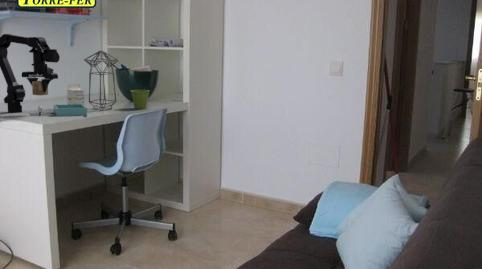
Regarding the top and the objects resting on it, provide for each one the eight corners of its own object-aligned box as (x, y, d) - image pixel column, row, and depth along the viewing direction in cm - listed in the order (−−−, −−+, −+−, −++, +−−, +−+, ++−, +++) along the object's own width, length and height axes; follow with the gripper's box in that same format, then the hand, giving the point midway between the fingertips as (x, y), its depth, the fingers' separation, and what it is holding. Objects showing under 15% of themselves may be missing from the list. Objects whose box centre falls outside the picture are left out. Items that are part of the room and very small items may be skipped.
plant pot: (143, 106, 305) (143, 89, 303) (153, 109, 296) (153, 91, 294) (126, 108, 297) (126, 89, 295) (136, 110, 288) (136, 91, 286)
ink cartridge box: (72, 109, 280) (71, 84, 277) (67, 109, 283) (66, 84, 281) (85, 108, 287) (84, 84, 284) (80, 107, 290) (79, 83, 287)
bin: (57, 118, 250) (56, 108, 249) (53, 113, 263) (53, 104, 262) (86, 117, 257) (86, 107, 256) (82, 113, 270) (82, 104, 269)
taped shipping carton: (41, 95, 248) (40, 81, 247) (32, 94, 249) (32, 81, 248) (48, 94, 253) (47, 81, 252) (39, 93, 255) (39, 80, 253)
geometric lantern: (121, 109, 291) (120, 51, 284) (103, 112, 278) (102, 51, 270) (101, 106, 298) (100, 49, 291) (82, 109, 284) (81, 50, 277)
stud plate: (30, 118, 246) (30, 107, 246) (29, 115, 255) (29, 105, 254) (51, 117, 251) (51, 107, 250) (49, 114, 260) (49, 104, 259)
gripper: (64, 62, 253) (65, 91, 256) (35, 60, 258) (36, 89, 261) (50, 62, 242) (51, 93, 245) (20, 61, 248) (21, 91, 251)
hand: (40, 91), depth 251 cm, fingers closed on taped shipping carton, 5 cm apart
